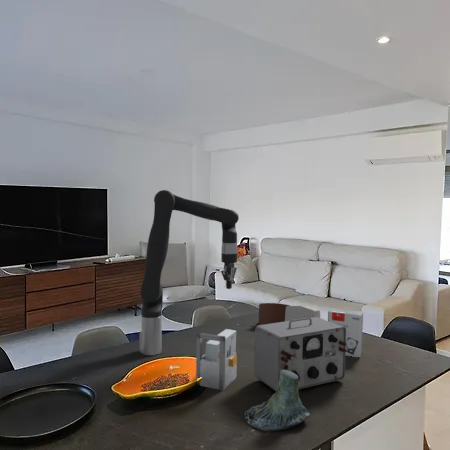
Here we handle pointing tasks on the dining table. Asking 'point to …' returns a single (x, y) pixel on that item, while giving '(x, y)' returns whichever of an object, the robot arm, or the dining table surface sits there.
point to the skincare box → (214, 346)
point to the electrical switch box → (300, 312)
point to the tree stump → (279, 407)
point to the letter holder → (271, 313)
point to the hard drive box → (349, 328)
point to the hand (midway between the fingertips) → (228, 288)
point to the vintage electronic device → (300, 351)
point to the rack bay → (215, 364)
